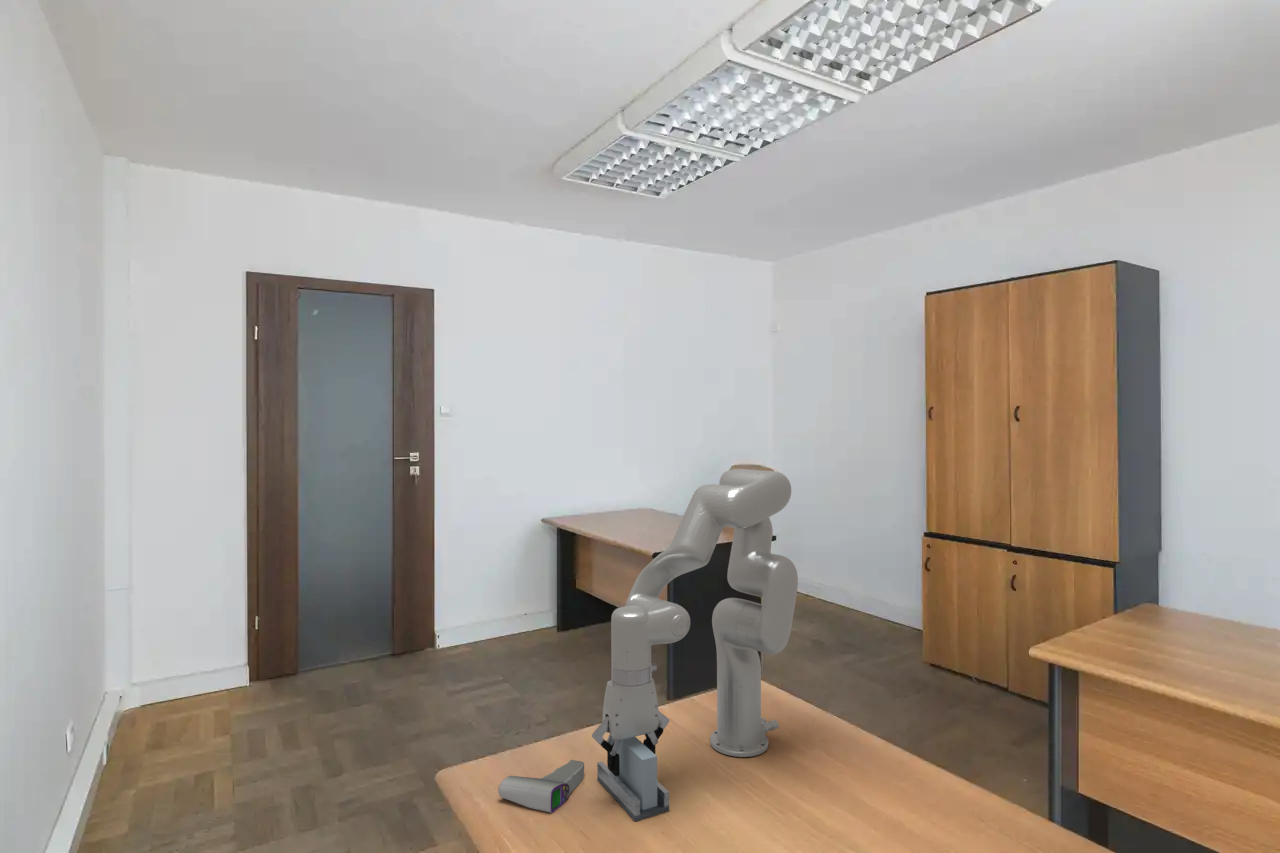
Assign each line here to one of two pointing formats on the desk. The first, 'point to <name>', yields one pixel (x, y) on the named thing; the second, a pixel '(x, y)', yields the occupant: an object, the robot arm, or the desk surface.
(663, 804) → the track
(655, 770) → the grey slab
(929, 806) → the desk surface
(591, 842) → the desk surface
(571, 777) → the infrared thermometer
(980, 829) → the desk surface
